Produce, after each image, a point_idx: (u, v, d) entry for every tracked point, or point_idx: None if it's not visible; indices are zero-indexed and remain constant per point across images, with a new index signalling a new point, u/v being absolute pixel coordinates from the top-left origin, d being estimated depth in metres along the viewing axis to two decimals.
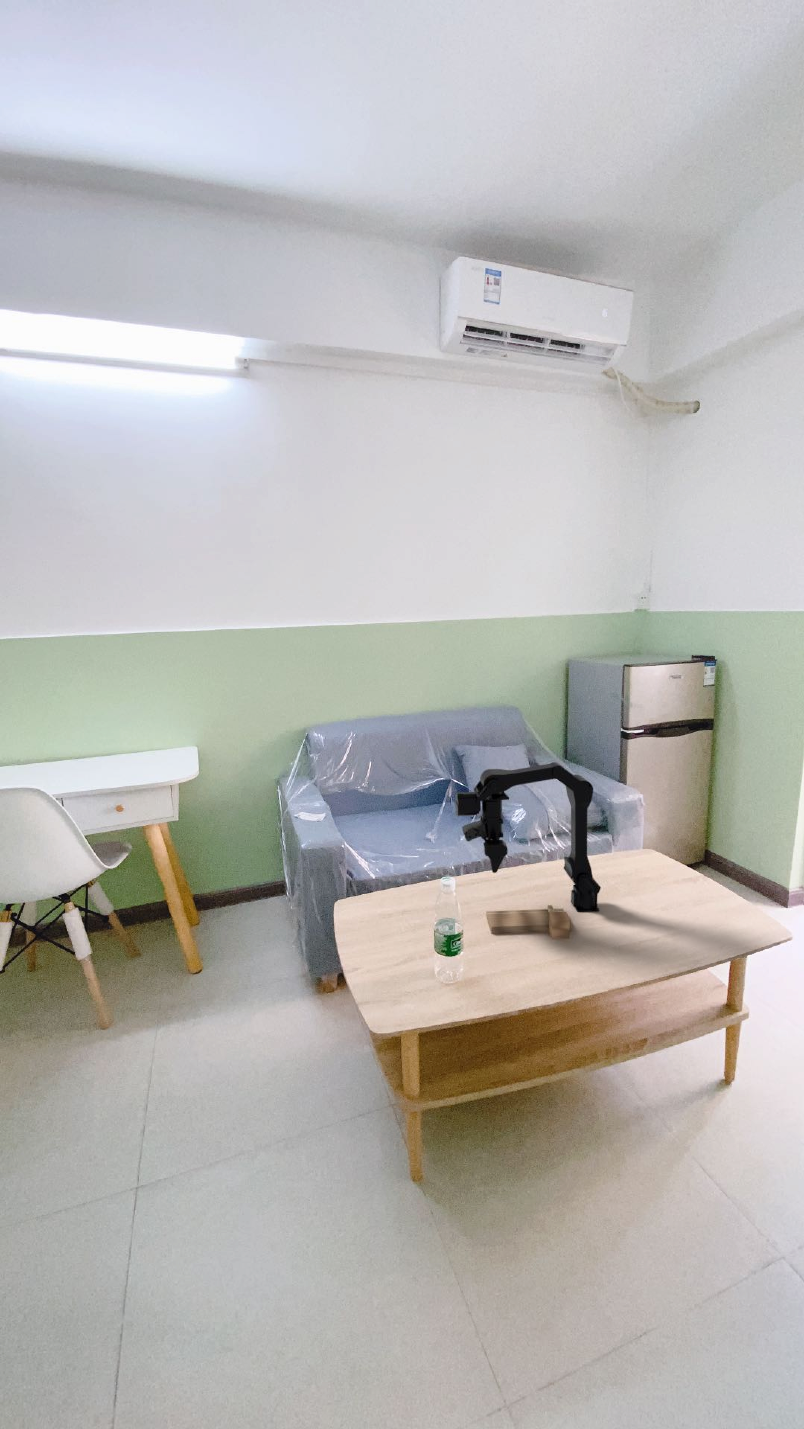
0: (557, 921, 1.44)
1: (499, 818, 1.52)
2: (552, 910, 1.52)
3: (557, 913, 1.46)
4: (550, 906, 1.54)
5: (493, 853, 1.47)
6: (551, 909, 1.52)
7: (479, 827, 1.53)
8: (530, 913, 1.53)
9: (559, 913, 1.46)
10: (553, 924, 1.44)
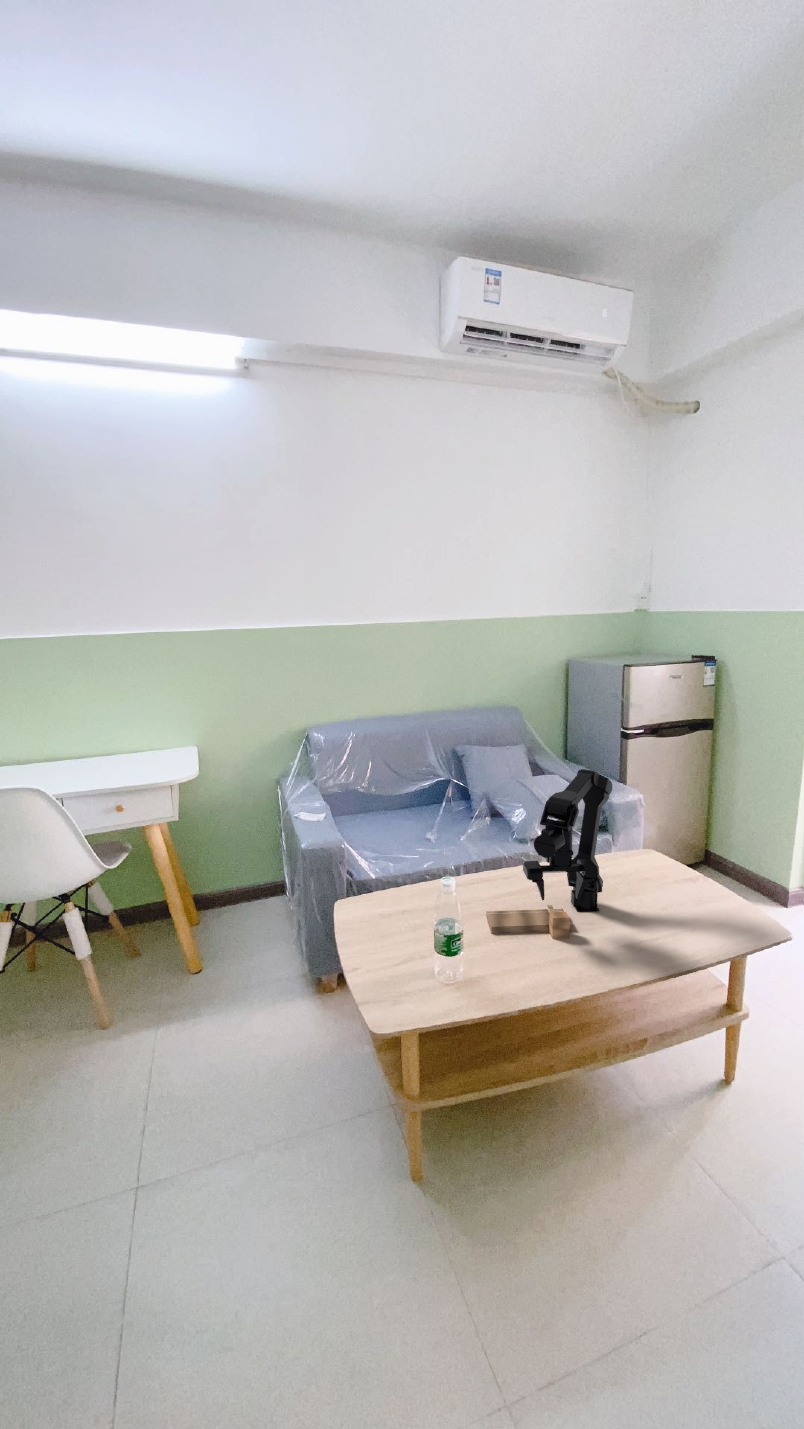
0: (557, 921, 1.44)
1: None
2: (552, 910, 1.52)
3: (557, 913, 1.46)
4: (550, 906, 1.54)
5: (524, 871, 1.44)
6: (551, 909, 1.52)
7: None
8: (530, 913, 1.53)
9: (559, 913, 1.46)
10: (553, 924, 1.44)
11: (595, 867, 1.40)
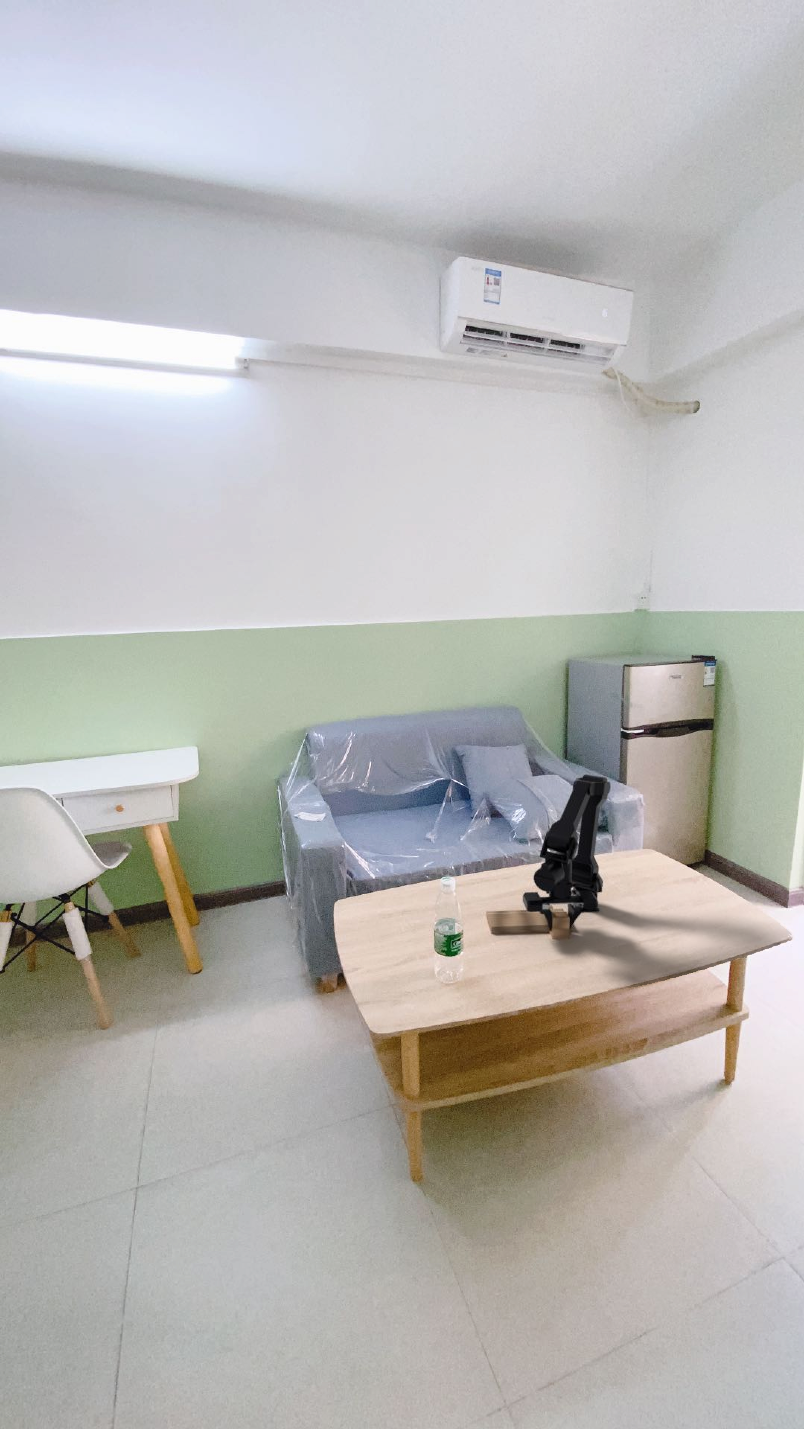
0: (557, 921, 1.44)
1: None
2: (552, 910, 1.52)
3: (557, 913, 1.46)
4: (550, 906, 1.54)
5: (524, 902, 1.45)
6: (551, 909, 1.52)
7: None
8: (530, 913, 1.53)
9: (559, 913, 1.46)
10: (553, 924, 1.44)
11: (594, 899, 1.42)
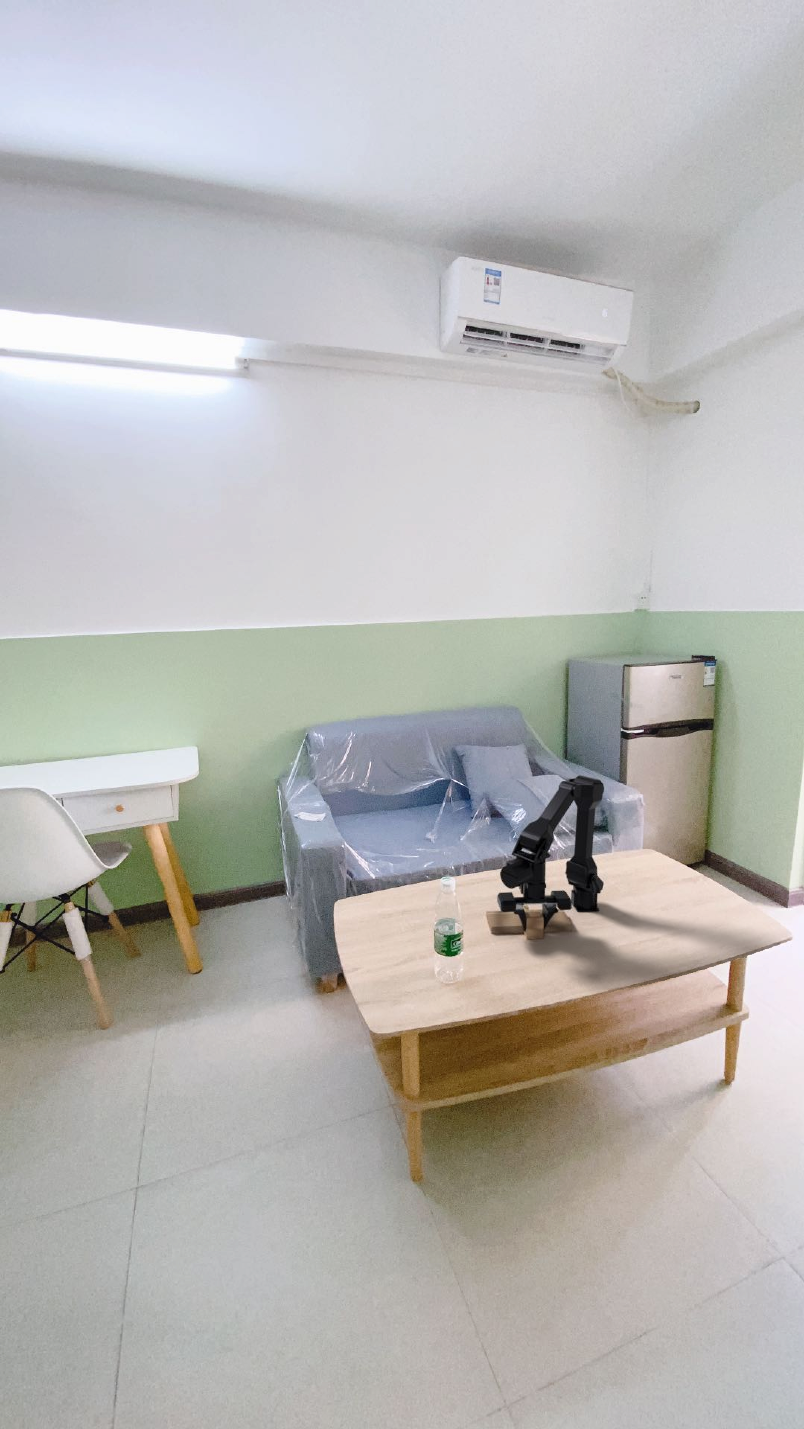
0: (531, 921, 1.44)
1: (527, 881, 1.42)
2: (527, 910, 1.52)
3: (531, 913, 1.46)
4: (526, 906, 1.54)
5: (498, 902, 1.45)
6: (526, 909, 1.53)
7: None
8: None
9: (533, 913, 1.46)
10: (527, 924, 1.44)
11: (568, 899, 1.42)
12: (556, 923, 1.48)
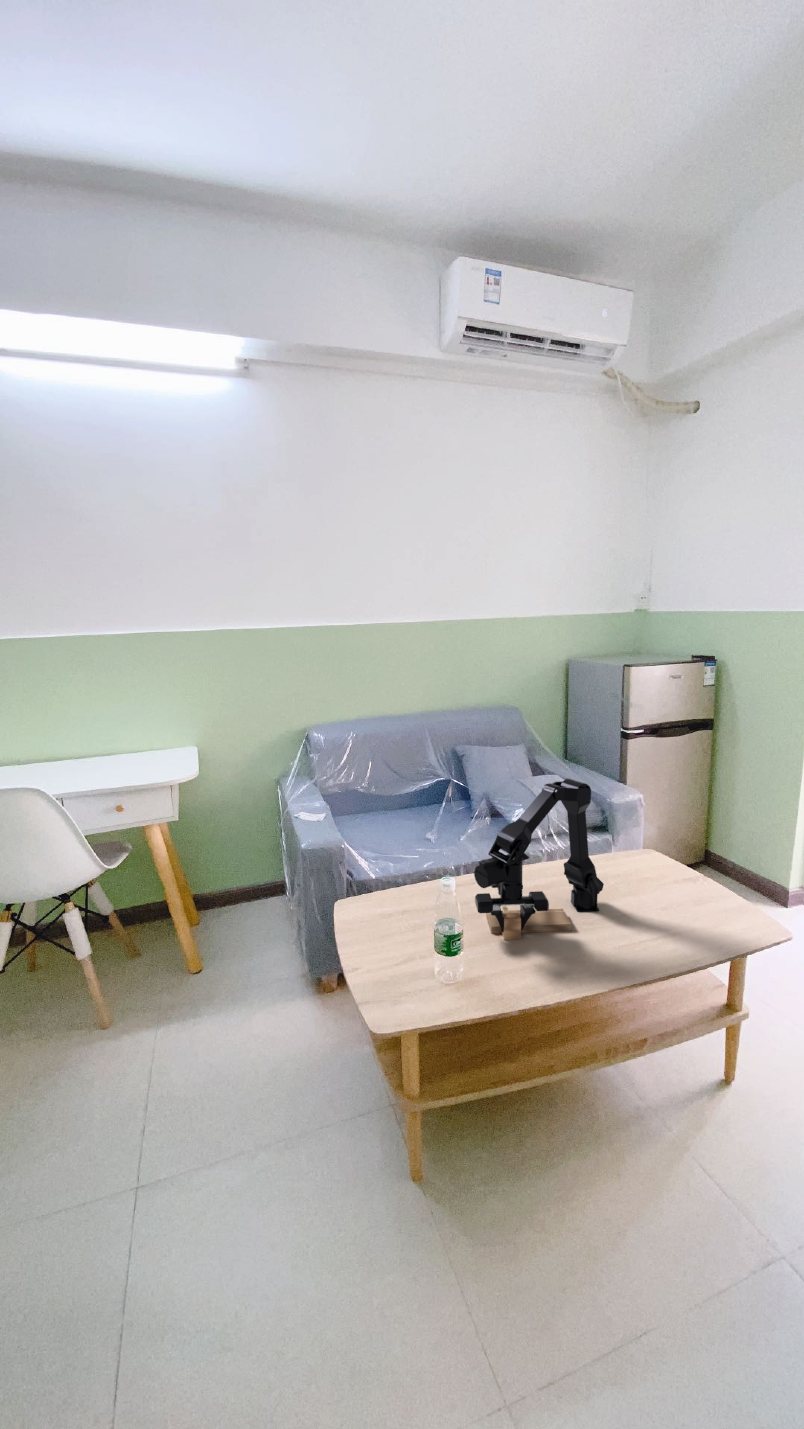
0: (509, 922, 1.44)
1: (504, 882, 1.42)
2: (506, 911, 1.52)
3: (509, 914, 1.46)
4: (505, 907, 1.54)
5: (476, 904, 1.45)
6: (505, 910, 1.53)
7: None
8: None
9: (511, 914, 1.46)
10: (505, 925, 1.44)
11: (545, 900, 1.42)
12: (556, 923, 1.48)
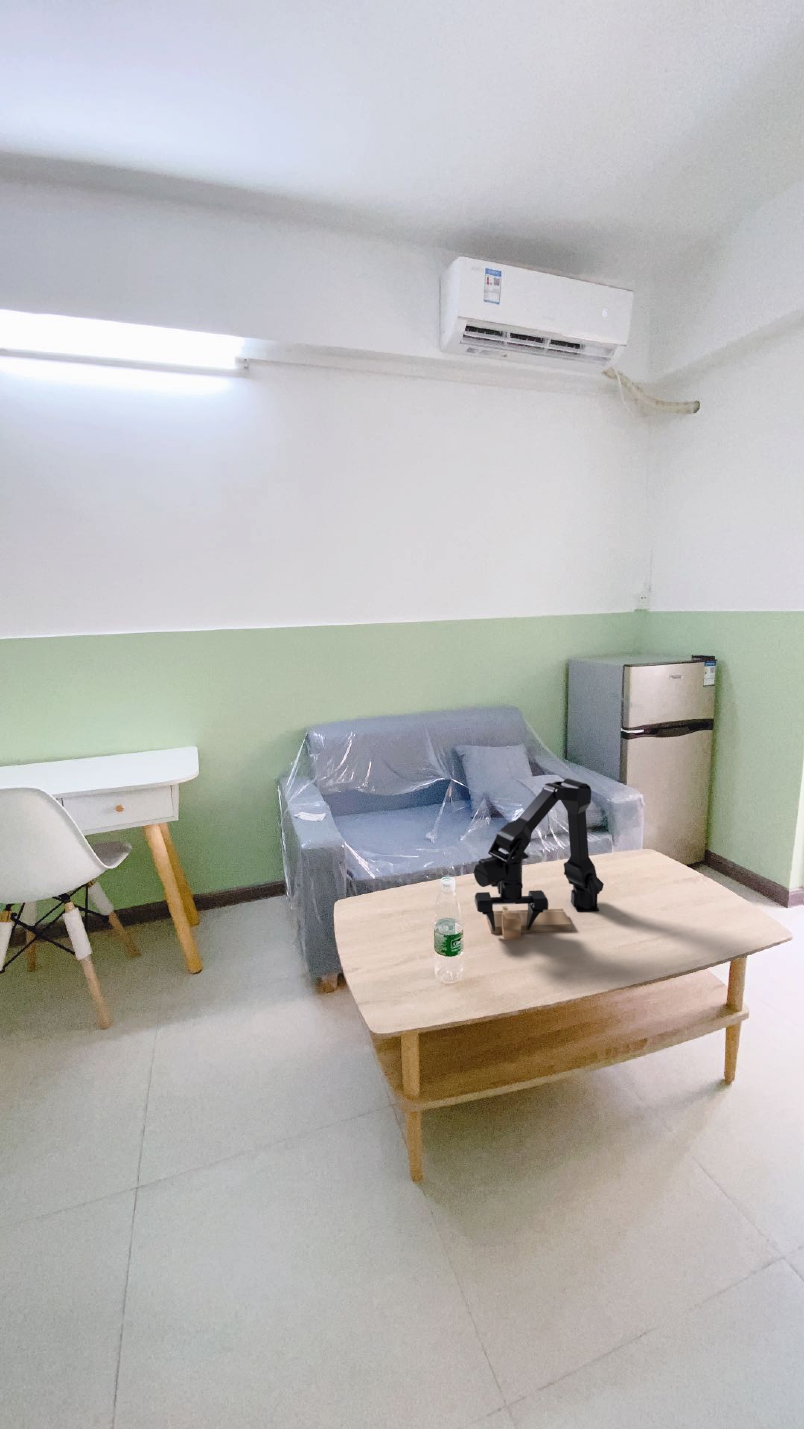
0: (509, 922, 1.44)
1: (504, 881, 1.41)
2: (506, 911, 1.52)
3: (509, 914, 1.46)
4: (505, 907, 1.54)
5: (475, 902, 1.45)
6: (505, 910, 1.53)
7: None
8: None
9: (511, 914, 1.46)
10: (505, 925, 1.44)
11: (544, 899, 1.42)
12: (556, 923, 1.48)
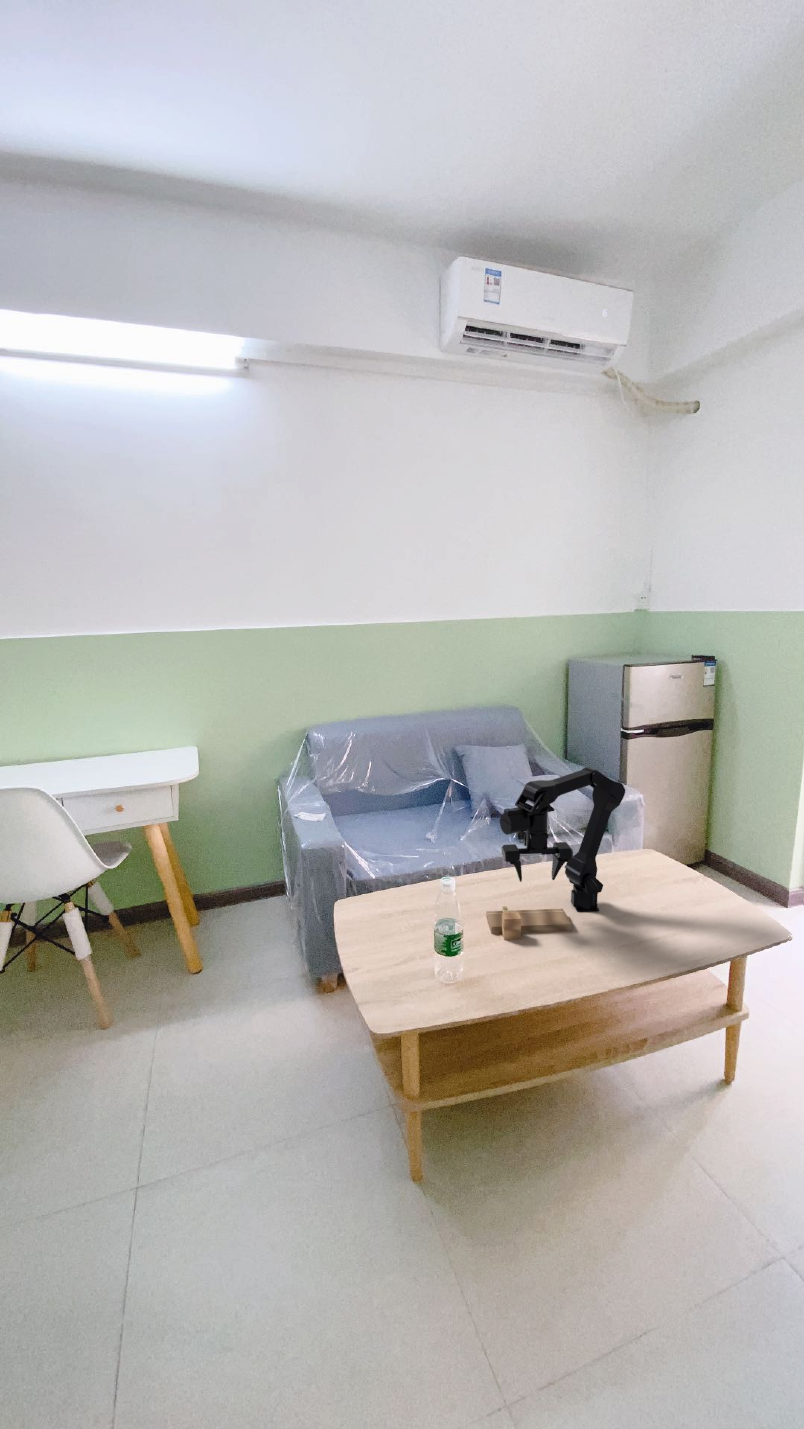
0: (509, 922, 1.44)
1: (530, 832, 1.48)
2: (506, 911, 1.52)
3: (509, 914, 1.46)
4: (505, 907, 1.54)
5: (502, 854, 1.51)
6: (505, 910, 1.53)
7: (525, 833, 1.54)
8: (530, 913, 1.53)
9: (511, 914, 1.46)
10: (505, 925, 1.44)
11: (569, 849, 1.48)
12: (556, 923, 1.48)
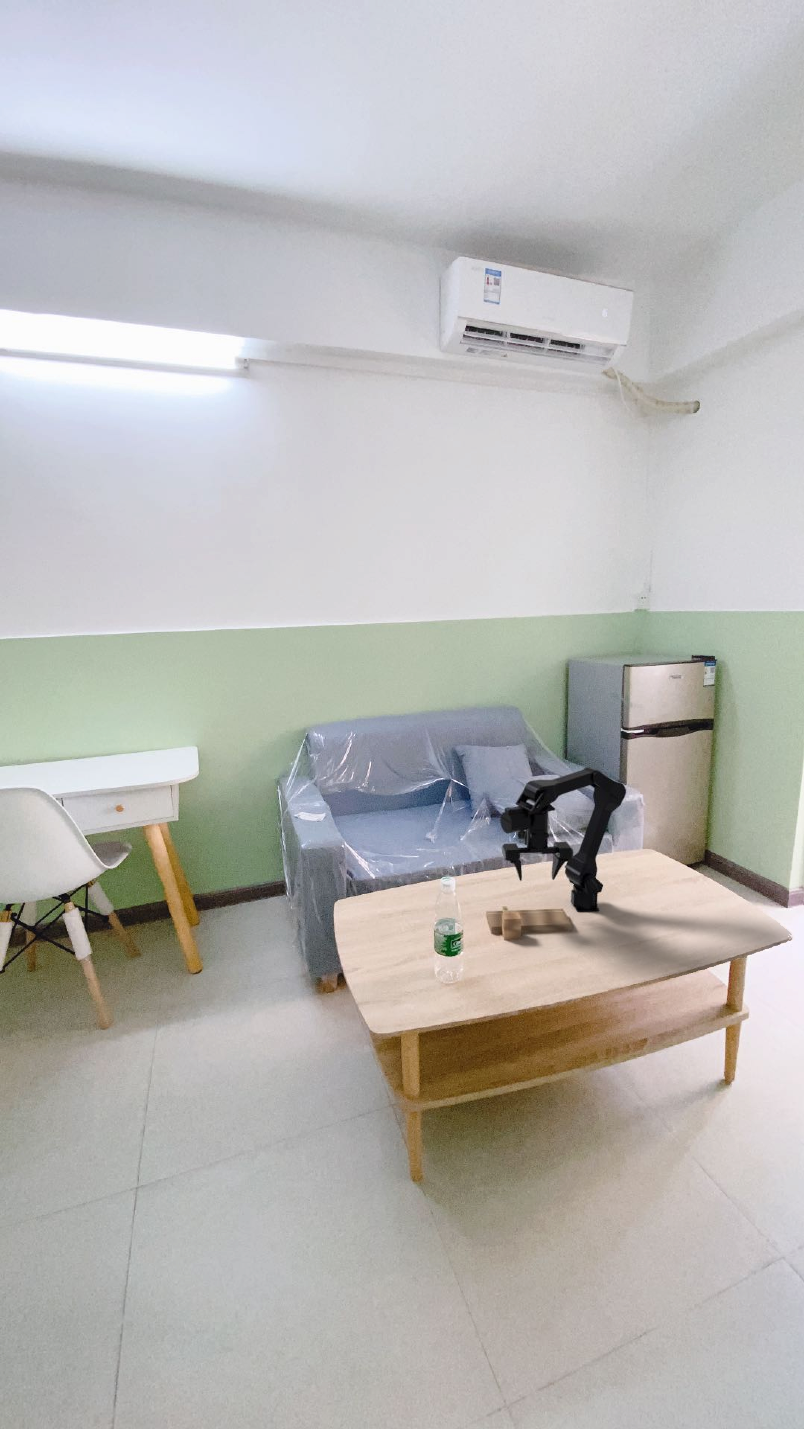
0: (509, 922, 1.44)
1: (531, 831, 1.48)
2: (506, 911, 1.52)
3: (509, 914, 1.46)
4: (505, 907, 1.54)
5: (503, 853, 1.52)
6: (505, 910, 1.53)
7: None
8: (530, 913, 1.53)
9: (511, 914, 1.46)
10: (505, 925, 1.44)
11: (569, 849, 1.48)
12: (556, 923, 1.48)
